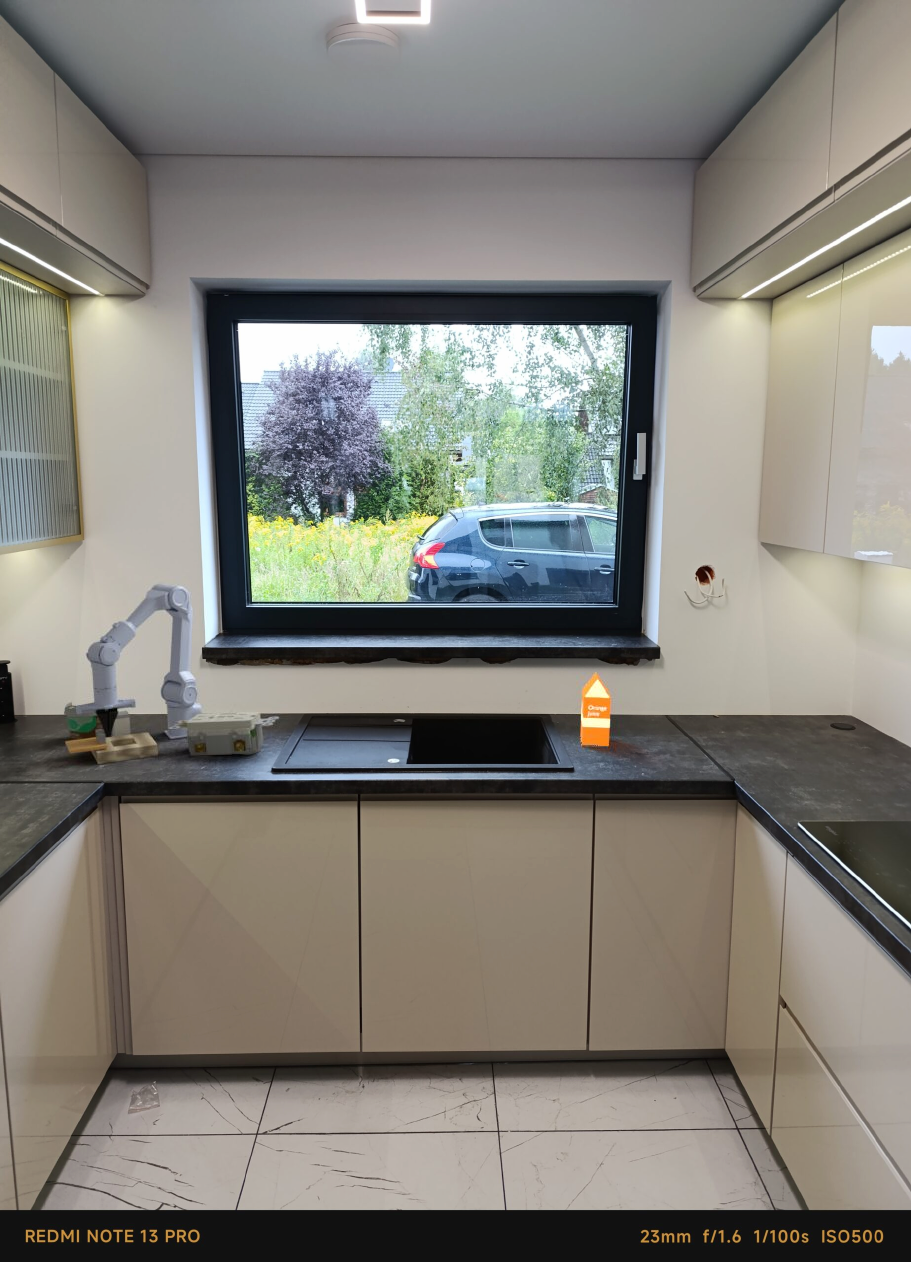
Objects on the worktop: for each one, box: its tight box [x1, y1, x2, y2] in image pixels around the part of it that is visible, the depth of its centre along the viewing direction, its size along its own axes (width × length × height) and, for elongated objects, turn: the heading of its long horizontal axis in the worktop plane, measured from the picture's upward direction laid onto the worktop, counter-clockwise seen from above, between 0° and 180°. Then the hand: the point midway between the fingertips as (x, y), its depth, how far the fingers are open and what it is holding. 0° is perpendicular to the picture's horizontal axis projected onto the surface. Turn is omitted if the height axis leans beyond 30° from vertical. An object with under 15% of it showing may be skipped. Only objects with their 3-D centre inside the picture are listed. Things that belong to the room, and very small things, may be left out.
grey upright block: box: [112, 710, 131, 737], centre depth 238 cm, size 4×4×8 cm
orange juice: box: [580, 672, 612, 746], centre depth 240 cm, size 8×9×20 cm
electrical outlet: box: [167, 711, 280, 756], centre depth 230 cm, size 12×28×10 cm, turn 86°
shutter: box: [65, 729, 107, 754], centre depth 222 cm, size 9×9×3 cm
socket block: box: [90, 731, 159, 765], centre depth 228 cm, size 15×13×3 cm
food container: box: [63, 702, 104, 741], centre depth 237 cm, size 12×6×10 cm, turn 71°
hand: (108, 736), depth 225 cm, fingers closed
